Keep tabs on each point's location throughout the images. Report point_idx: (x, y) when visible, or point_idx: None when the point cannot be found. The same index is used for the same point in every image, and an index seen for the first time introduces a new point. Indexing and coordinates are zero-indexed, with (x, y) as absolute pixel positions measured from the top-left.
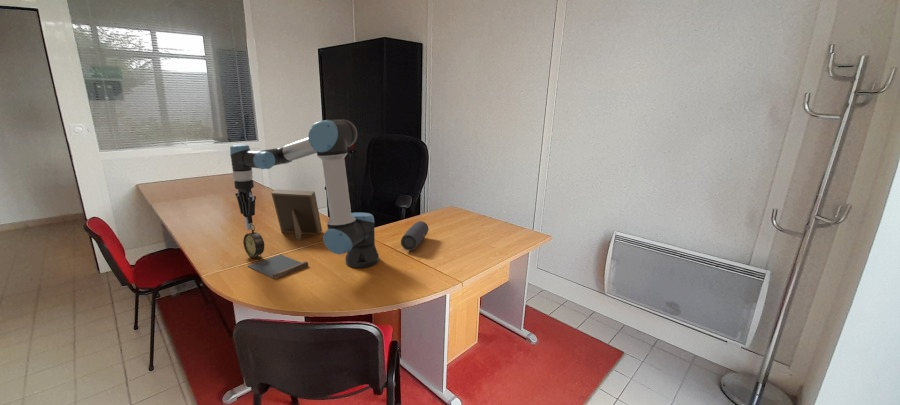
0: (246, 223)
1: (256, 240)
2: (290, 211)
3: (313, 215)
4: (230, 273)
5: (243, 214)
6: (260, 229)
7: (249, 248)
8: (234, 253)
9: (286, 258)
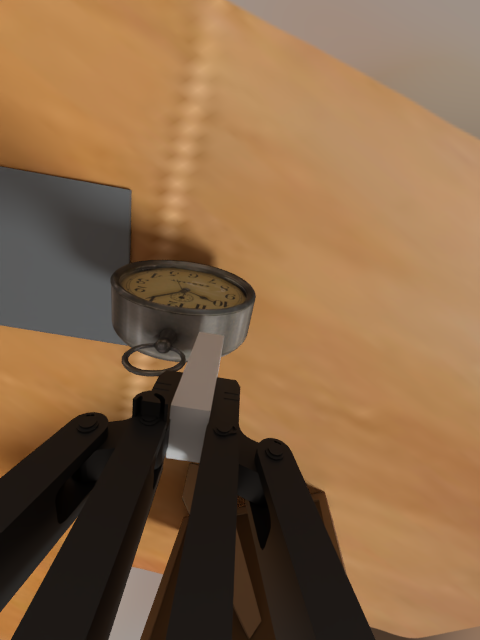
0: (192, 362)
1: (112, 295)
2: (269, 616)
3: (157, 611)
4: (123, 84)
5: (218, 430)
6: (426, 484)
7: (210, 284)
8: (320, 271)
9: (67, 325)
